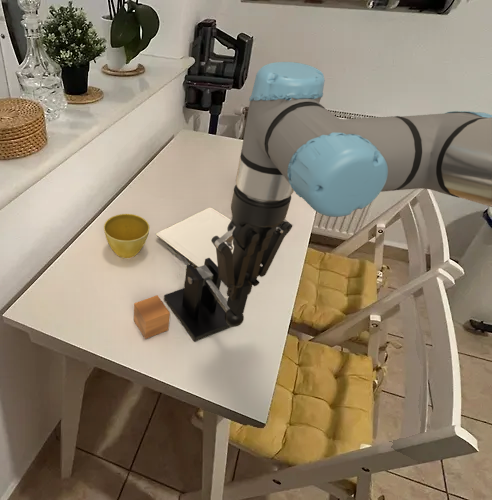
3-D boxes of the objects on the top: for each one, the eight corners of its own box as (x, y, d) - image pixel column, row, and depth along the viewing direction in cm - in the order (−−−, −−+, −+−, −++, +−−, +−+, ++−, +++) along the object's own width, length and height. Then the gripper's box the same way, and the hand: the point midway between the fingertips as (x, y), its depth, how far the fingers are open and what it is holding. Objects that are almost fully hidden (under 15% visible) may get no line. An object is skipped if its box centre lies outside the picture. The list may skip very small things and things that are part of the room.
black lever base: (234, 325, 83) (244, 282, 75) (194, 342, 80) (201, 298, 72) (200, 286, 91) (207, 243, 84) (163, 299, 88) (166, 255, 80)
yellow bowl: (156, 248, 100) (158, 223, 96) (132, 272, 94) (132, 247, 89) (122, 232, 105) (121, 208, 100) (96, 254, 98) (94, 230, 94)
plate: (154, 239, 103) (155, 232, 102) (209, 212, 112) (210, 206, 111) (210, 283, 92) (211, 276, 91) (266, 249, 101) (268, 242, 100)
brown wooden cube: (168, 330, 82) (170, 312, 79) (145, 339, 80) (145, 321, 77) (156, 312, 85) (157, 294, 82) (133, 320, 83) (133, 303, 80)
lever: (244, 326, 74) (249, 315, 71) (229, 332, 73) (233, 322, 70) (205, 273, 82) (208, 262, 79) (190, 278, 80) (193, 267, 78)
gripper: (282, 165, 62) (252, 282, 77) (206, 185, 57) (190, 305, 72) (320, 191, 57) (280, 311, 72) (240, 215, 52) (214, 338, 67)
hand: (235, 308), depth 72 cm, fingers closed
